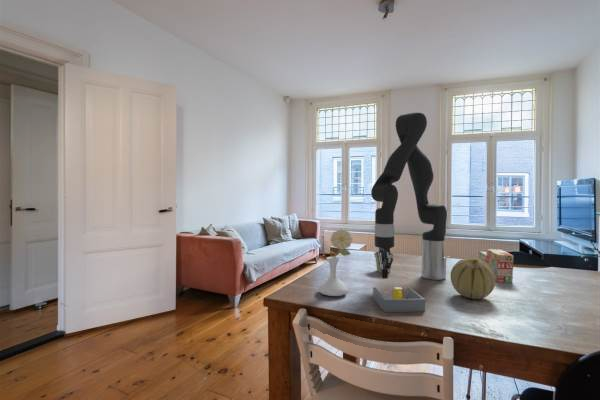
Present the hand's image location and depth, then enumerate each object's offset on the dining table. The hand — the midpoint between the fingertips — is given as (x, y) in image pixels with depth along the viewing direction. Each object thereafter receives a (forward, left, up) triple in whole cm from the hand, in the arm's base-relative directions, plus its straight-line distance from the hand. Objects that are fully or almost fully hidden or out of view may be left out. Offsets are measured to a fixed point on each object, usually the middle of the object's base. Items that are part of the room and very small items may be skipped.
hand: (384, 277), depth 122 cm
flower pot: (-9, -27, -5) cm, 29 cm away
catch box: (0, +15, -5) cm, 16 cm away
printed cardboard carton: (-58, -17, -5) cm, 61 cm away
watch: (0, +16, -5) cm, 16 cm away
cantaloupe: (-30, +10, -5) cm, 32 cm away
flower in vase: (+20, +4, -5) cm, 21 cm away
